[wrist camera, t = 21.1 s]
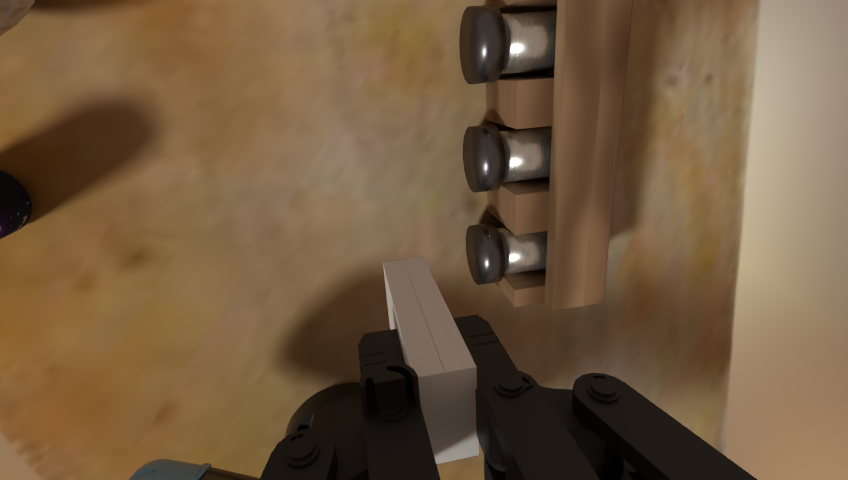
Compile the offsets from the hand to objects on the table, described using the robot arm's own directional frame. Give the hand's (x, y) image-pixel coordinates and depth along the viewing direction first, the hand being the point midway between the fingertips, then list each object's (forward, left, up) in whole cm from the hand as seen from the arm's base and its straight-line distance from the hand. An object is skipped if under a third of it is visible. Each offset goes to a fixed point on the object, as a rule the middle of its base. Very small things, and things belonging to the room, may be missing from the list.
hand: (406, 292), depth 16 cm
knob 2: (+14, 0, -25) cm, 28 cm away
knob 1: (+13, +9, -25) cm, 30 cm away
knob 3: (+13, -9, -25) cm, 30 cm away
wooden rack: (+15, 0, -26) cm, 30 cm away
